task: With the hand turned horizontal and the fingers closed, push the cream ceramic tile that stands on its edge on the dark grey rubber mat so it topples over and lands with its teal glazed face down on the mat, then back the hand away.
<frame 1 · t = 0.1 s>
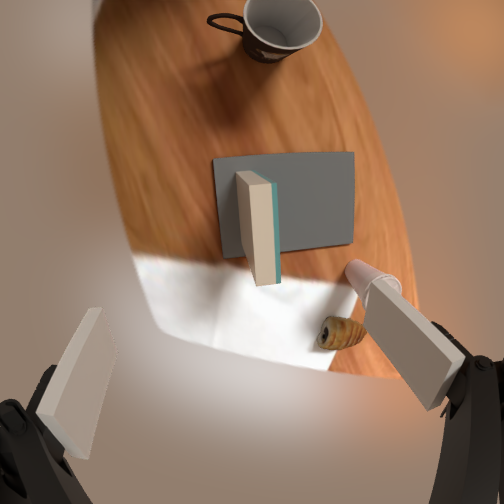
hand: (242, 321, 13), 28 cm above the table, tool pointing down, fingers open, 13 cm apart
coffee mug: (256, 39, 32), on the table
mat: (289, 202, 40), on the table
tile: (247, 207, 39), point 1 cm above the table, touching mat
smoothie: (354, 269, 46), on the table
pastry: (337, 328, 51), on the table
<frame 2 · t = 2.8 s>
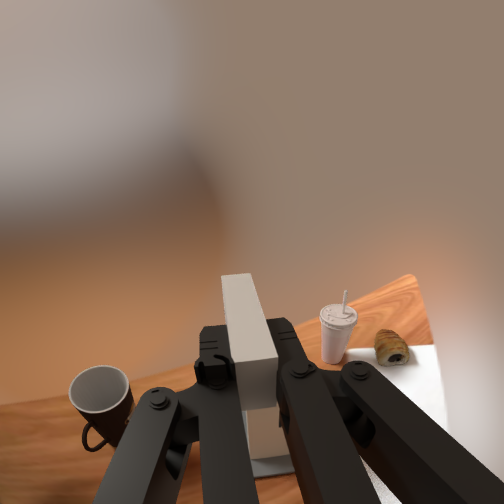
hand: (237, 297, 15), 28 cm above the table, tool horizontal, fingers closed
coffee mug: (116, 437, 32), on the table
mat: (278, 416, 37), on the table
tile: (286, 446, 32), point 1 cm above the table, touching mat
smoothie: (331, 358, 49), on the table
pastry: (387, 354, 48), on the table
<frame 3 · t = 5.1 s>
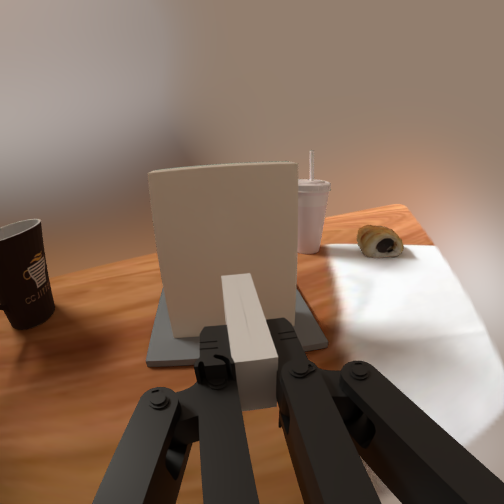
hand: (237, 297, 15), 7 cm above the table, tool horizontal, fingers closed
coffee mug: (23, 321, 24), on the table
mat: (228, 295, 30), on the table
tile: (233, 324, 24), point 1 cm above the table, touching mat
smoothie: (306, 250, 42), on the table
pastry: (375, 251, 41), on the table
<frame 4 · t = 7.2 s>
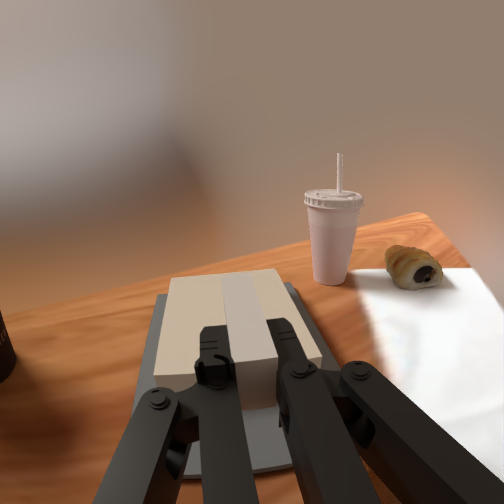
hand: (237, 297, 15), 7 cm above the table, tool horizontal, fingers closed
mat: (234, 357, 21), on the table
tile: (240, 383, 16), point 2 cm above the table, tilted 90°, touching mat
smoothie: (329, 279, 33), on the table
pastry: (408, 278, 32), on the table
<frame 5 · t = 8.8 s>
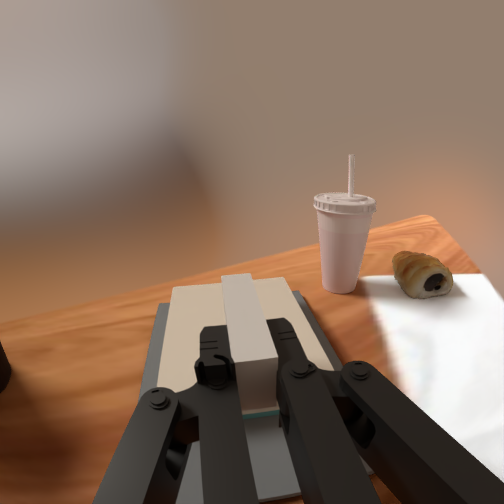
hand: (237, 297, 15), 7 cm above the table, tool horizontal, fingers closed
mat: (241, 374, 19), on the table
tile: (249, 406, 14), point 2 cm above the table, tilted 90°, touching mat
smoothie: (338, 287, 31), on the table
pastry: (416, 285, 30), on the table
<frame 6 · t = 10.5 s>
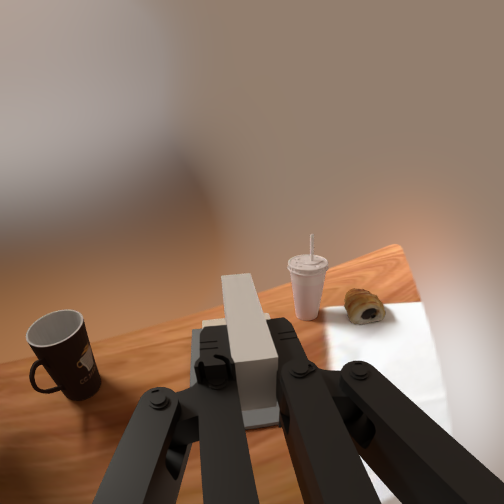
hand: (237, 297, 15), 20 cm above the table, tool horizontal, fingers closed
coffee mug: (75, 391, 31), on the table
mat: (243, 369, 36), on the table
smoothie: (306, 315, 48), on the table
pastry: (361, 313, 47), on the table
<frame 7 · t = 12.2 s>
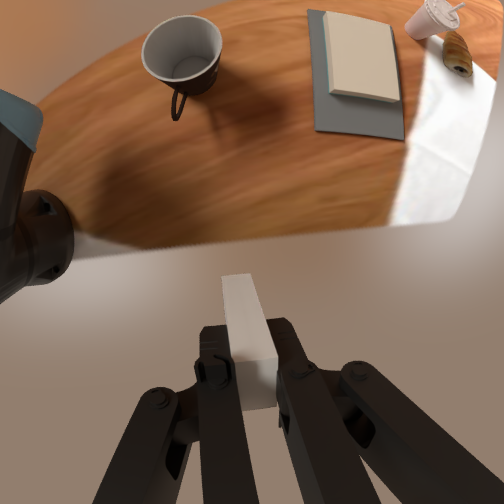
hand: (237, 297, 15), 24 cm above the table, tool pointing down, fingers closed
coffee mug: (187, 83, 34), on the table
mat: (357, 71, 34), on the table
tile: (365, 96, 33), point 2 cm above the table, tilted 90°, touching mat
smoothie: (412, 31, 32), on the table
pastry: (452, 56, 33), on the table
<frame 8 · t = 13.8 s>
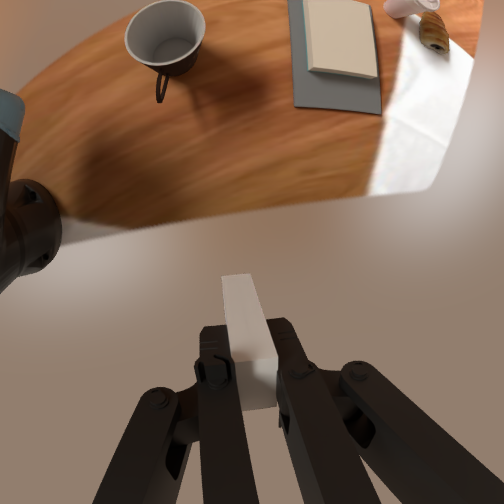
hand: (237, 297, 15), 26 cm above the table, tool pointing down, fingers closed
coffee mug: (168, 64, 32), on the table
mat: (335, 48, 34), on the table
tile: (343, 73, 34), point 2 cm above the table, tilted 90°, touching mat
smoothie: (391, 10, 31), on the table
pastry: (428, 33, 33), on the table
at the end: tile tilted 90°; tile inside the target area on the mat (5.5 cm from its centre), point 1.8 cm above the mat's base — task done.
